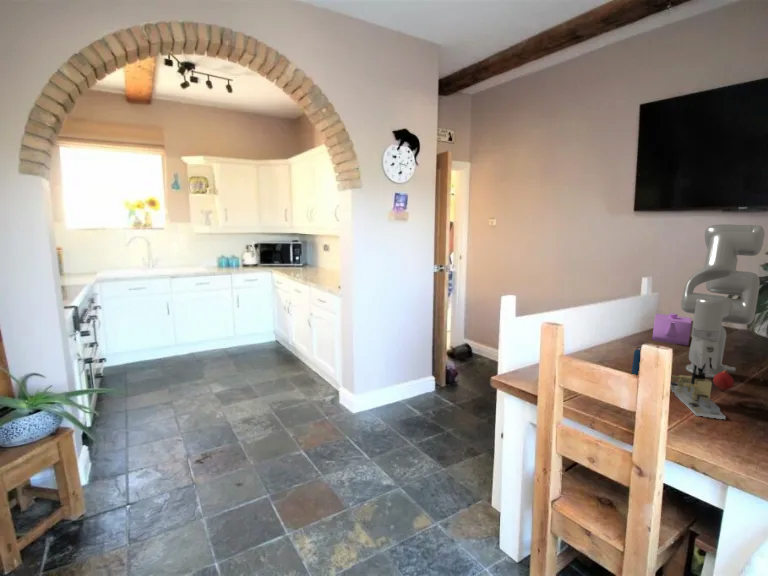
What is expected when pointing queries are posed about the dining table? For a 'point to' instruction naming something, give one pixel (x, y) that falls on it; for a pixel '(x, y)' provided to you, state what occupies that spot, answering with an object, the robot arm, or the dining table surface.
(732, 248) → the robot arm
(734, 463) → the dining table surface
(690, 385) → the sliding jaw
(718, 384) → the onion
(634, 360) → the soda can
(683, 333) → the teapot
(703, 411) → the board
